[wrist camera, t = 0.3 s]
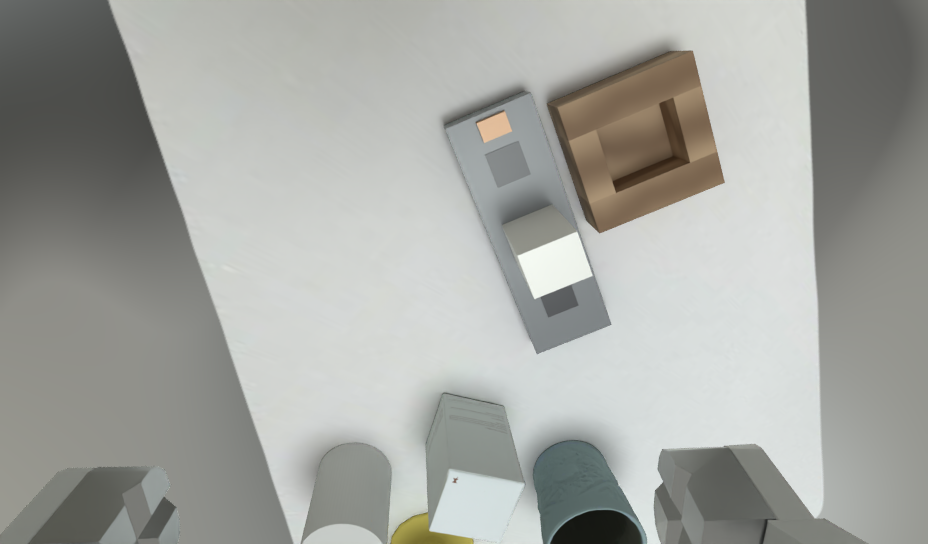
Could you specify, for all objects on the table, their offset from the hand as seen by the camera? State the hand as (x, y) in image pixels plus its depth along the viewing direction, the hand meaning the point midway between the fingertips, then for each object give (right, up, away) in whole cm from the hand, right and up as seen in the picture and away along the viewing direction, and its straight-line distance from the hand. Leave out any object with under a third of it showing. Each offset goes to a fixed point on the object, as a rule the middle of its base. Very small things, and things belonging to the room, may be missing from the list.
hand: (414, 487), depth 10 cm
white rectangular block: (+7, +8, +47) cm, 48 cm away
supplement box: (+1, -13, +55) cm, 57 cm away
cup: (-11, -19, +56) cm, 61 cm away
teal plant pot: (+13, -19, +58) cm, 63 cm away
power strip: (+7, +8, +48) cm, 49 cm away
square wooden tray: (+16, +16, +46) cm, 51 cm away
